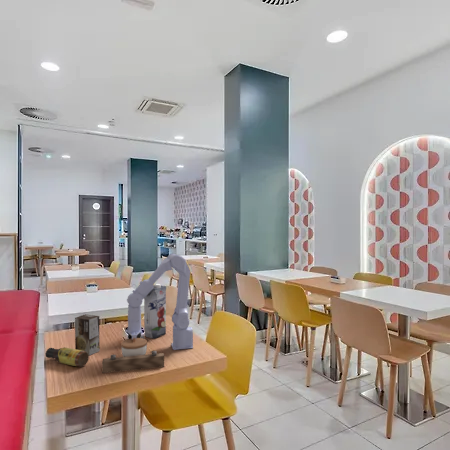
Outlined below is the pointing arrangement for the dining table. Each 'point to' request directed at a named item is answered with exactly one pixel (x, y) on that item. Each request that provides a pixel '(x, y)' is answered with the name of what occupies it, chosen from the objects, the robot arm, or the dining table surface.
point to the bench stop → (132, 362)
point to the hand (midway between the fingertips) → (134, 350)
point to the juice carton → (155, 312)
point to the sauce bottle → (68, 356)
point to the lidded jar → (134, 347)
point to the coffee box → (87, 333)
